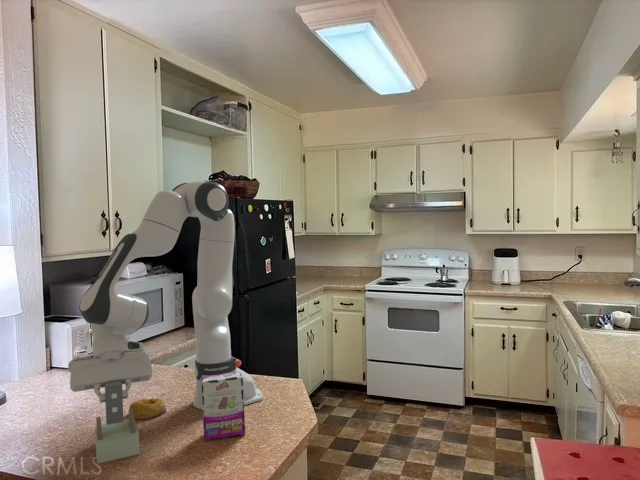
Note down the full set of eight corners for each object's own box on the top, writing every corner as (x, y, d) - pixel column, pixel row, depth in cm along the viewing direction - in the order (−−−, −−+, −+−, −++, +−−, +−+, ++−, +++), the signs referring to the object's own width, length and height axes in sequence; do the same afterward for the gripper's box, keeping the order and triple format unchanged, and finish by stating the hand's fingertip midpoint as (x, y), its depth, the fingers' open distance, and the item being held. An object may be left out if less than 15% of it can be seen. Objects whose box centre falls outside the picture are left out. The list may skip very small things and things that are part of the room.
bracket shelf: (134, 435, 134) (133, 407, 134) (139, 454, 124) (138, 423, 123) (95, 444, 130) (93, 414, 129) (96, 463, 119) (95, 432, 119)
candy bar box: (243, 428, 137) (241, 371, 137) (245, 435, 133) (243, 376, 132) (202, 434, 134) (200, 375, 133) (203, 441, 129) (201, 381, 129)
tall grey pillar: (122, 416, 129) (121, 379, 128) (123, 421, 125) (122, 384, 125) (105, 419, 127) (104, 382, 126) (106, 425, 124) (105, 386, 123)
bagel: (165, 418, 146) (164, 402, 146) (126, 422, 144) (125, 407, 143) (168, 406, 156) (167, 391, 156) (131, 410, 153) (131, 395, 153)
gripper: (67, 352, 127) (68, 401, 119) (149, 342, 136) (155, 387, 128) (68, 364, 131) (69, 412, 123) (147, 354, 140) (153, 398, 132)
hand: (114, 399), depth 125 cm, fingers closed on tall grey pillar, 4 cm apart
